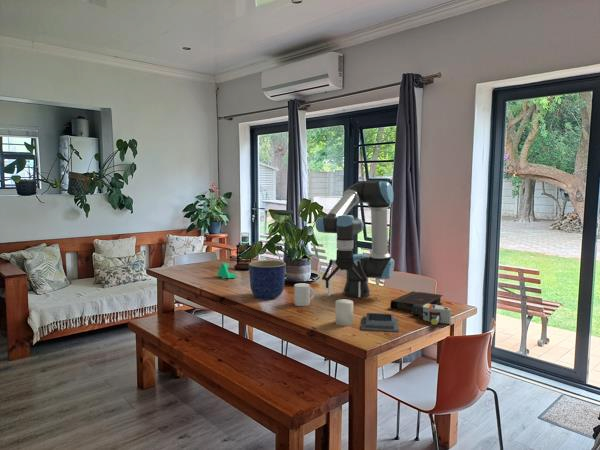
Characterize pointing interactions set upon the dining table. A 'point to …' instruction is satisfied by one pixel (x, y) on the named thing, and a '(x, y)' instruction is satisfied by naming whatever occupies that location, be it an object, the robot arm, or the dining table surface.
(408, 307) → the diary
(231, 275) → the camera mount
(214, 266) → the dining table surface
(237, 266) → the dark piece
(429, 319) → the film camera
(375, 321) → the grey square tray
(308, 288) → the mug
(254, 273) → the planter
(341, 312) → the plug
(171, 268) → the dining table surface
